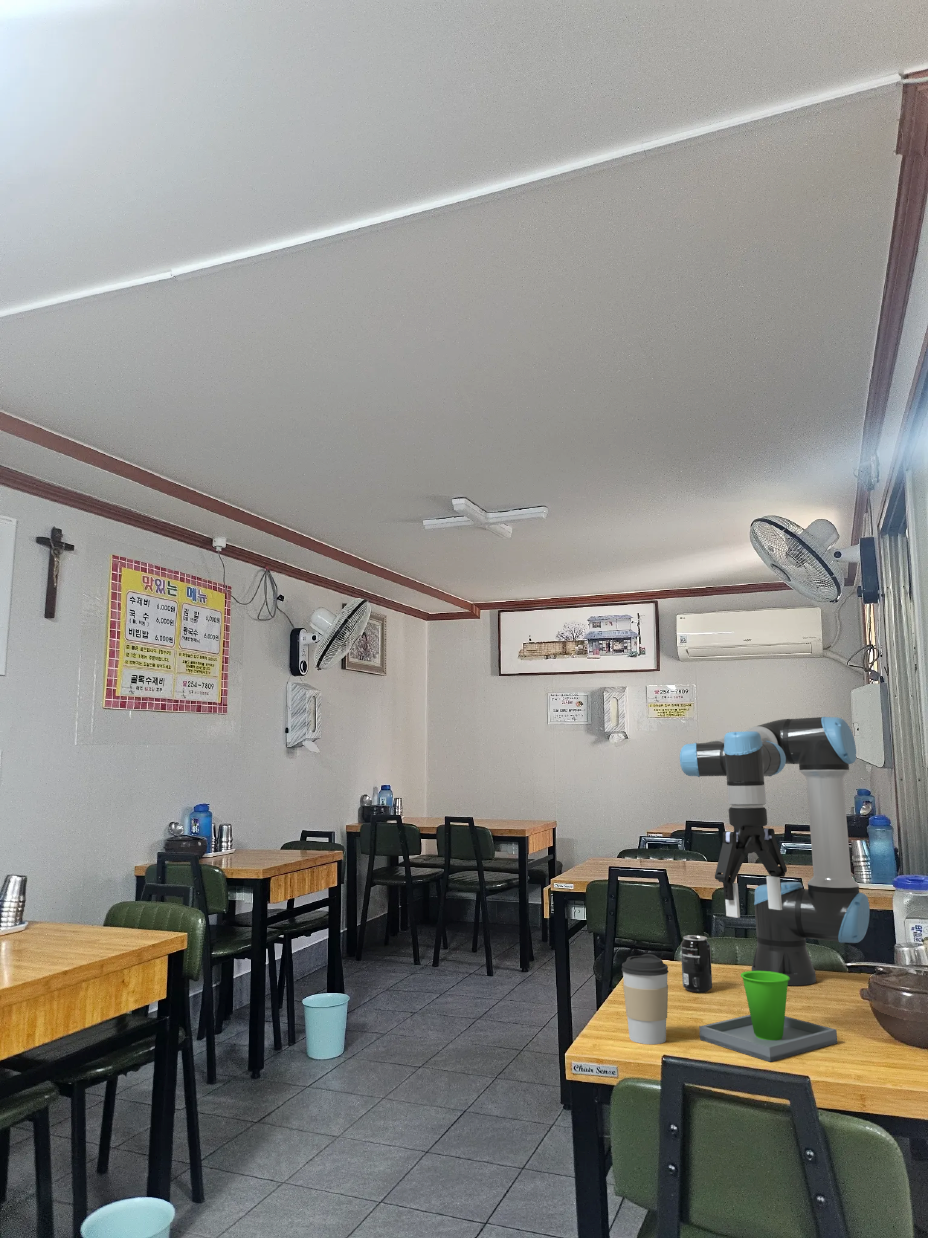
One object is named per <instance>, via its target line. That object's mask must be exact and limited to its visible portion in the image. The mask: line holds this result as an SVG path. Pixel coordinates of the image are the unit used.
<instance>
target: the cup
mask: <svg viewBox="0 0 928 1238" xmlns="http://www.w3.org/2000/svg"><path fill="white" fill-rule="evenodd" d="M740 977H741V978H742V981H743V985H744V986H743V987H744V990H745V995H746V1001H747V1006H748V1010H749V1015H750V1016H751V1020H752V1025H753V1030H754V1033H755V1036H756V1037H758V1038H760V1039H764V1040H780V1039H782V1036H783V1031H784V1020H785V1016H786V1005H787V996H788V995H787V994H788V986H789V985H788V981H789V980H790V978H789V976H787V975H785V974H782V973H777V972H770V971H752V970H748V971H743V972H742V973H741V974H740Z"/></svg>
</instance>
